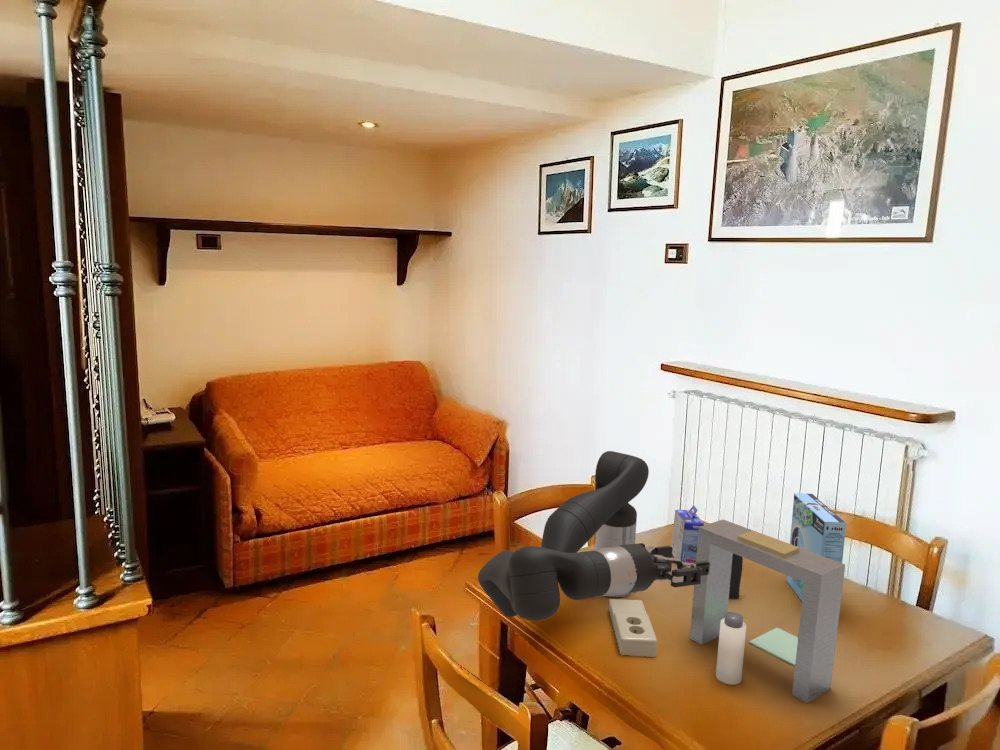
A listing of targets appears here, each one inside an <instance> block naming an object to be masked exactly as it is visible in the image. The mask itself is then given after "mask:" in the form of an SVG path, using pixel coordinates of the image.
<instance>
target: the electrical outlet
mask: <svg viewBox="0 0 1000 750" xmlns="http://www.w3.org/2000/svg"><path fill="white" fill-rule="evenodd" d="M608 607H609V608H608V613H609V612H610V613H609V616H611V617H610V620H611V624H612V628H613V632H614V631H615V632H614V636H615V635H616V636H615V640H616V639H617V640H616V643H618V644H617V648H618V647H619V648H618V650H619V651H620V652H619V655H620V654H621V655H620V656H622V655H630V656H629V657H644V656H646V657H647V658H649V657H650V658H657V650H658V638H657V636H656V632H655V630H654V627H653V625H652V622H651V618H650V616H649V614H648V613H647V611H646V608H645V605H644V603H643V600H641V599H620V598H619V599H618V598H614V599H613V598H609V606H608ZM632 655H633V656H632Z"/></svg>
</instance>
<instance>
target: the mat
mask: <svg viewBox="0 0 1000 750" xmlns="http://www.w3.org/2000/svg"><path fill="white" fill-rule="evenodd" d="M748 643H749V644H751V645H752V646H754V647H756V648H758V649H760V650H762V651H763V652H765V653H767V654H769V655H771V656H773V657H775V658H777V659H779V660H780V661H783V662H785V663H787V664H789V665H790V666H793V667H795V662H796V653H797V644H798V637H797V636H796V635H793V634H792V633H790V632H787V631H786V630H784V629H781V628H779V627H775V628H773V629H771V630H770V631H767V632H765V633H763V634H761V635H759V636H757V637H755V638H753V639H751V640H749V642H748Z"/></svg>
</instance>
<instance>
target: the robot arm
mask: <svg viewBox="0 0 1000 750" xmlns="http://www.w3.org/2000/svg"><path fill="white" fill-rule="evenodd" d="M649 473H650V470H649V466H648V464H647V463H646V461H645V460H644V459H642V458H640V457H637V456H634V455H632V454H626V453H622V452H618V451H613V450H607V451H605V452H603V453H602V454H601V455H600V457H599V458H598V460H597V463H596V467H595V477H594V483H595V484H594V485H595V486H594V489H593V490H589V491H586V492H584V493H580V494H577V495H575V496H572V497H570V498H568V499H567V500H565V501H564V502H563V503H562V504H561V505H560V506H558V507H557V509H555V510H554V511H553V512H552V513H551V514H550V515H549V516H548V518H547V519H546V522H545V524H544V529H543V532H542V533H543V534H542V539H541V546H537V545H527V546H523V547H518V549H516V550H515V551H513V550H511V549H506V550H503V551H500V552H498V553H497V554H495V555H494V556H493V557H491V558H490V559H489V560H488V561H487V562H486V563H485V564H484V565H483V566H482V567H481V569H480V570H479V572H478V576H477V581H478V583H479V585H480V587H481V588H482V590H483V592H484V593H486V594H485V595H487V596H488V598H489V599H490V600H491V601H492V602H493V604H494V605H495V607H496V608H497V609H498V610H499V611H500V612H501V613H502V614H503V615H504V617H507V618H514V617H516V616H519V617H520V618H522V619H524V620H527V621H532V622H534V621H535V622H538V621H545V620H547V619H550V618H551V617H553V616H554V615H555V614H556V613H557V612H558V610H559V608H560V605H561V594H560V590H561V591H562V592H563V594H564V595H565V596H566V597H567V598H569V599H571V600H574V601H580V600H586V599H587V600H588V599H591V598H593V599H594V598H598V597H610V598H623V597H627V596H629V595H630V594H632V593H637V592H643V591H646V590H648V589H649V588H650V586H652V584H653V583H654V582H655V581H656V582H662V581H669V582H670V587H673V588H681V587H682V588H683V587H688V586H694V585H697V584H701V576H704V575H708V574H709V569H710V563H709V562H707V561H700V562H694V563H686V562H681V560H680V559H676V558H674V557H673V554H672V547H671V546H670V545H664V546H663V545H662V546H653V545H648V546H646V544H645V543H643V542H639V543H636V534H637V519H638V518H637V517H638V512H637V510H636V508H635V507H634V506H633V505H631V504H630V502H631V501H632V500H634V499H635V498H636V497H637V496H638V495H639V494H640V493H641V492H642V490H643V489H644V487H645V485H646V483H647V481H648V479H649ZM594 535H595V544H594V546H593V550H588V551H581V552H580V550H581V549H582V548H583V547H584V546H585V545H586V544H587V543H588V541H590V540H591V539H592V538H593V537H594ZM673 564H674V565H675V569H672V567H673Z"/></svg>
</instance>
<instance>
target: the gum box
mask: <svg viewBox="0 0 1000 750" xmlns="http://www.w3.org/2000/svg"><path fill="white" fill-rule="evenodd" d="M792 505H793V506H792V515H791V528H790V538H789V544H791V545H794V546H797V547H799V548H802V549H805V550H808V551H810V552H813V553H816V554H818V555H821V556H824V557H826V558H829V559H832V560H835V561H837V562H840V563H843V559H844V558H843V557H844V551H845V550H844V549H845V539H846V538H845V537H846V529H847V522H846V521H844V519H842V518H841V517H839V515H837V514H836V513H835V512H834V511H833V510H831V509H830V508H829V507H828V506H827V505H825V503H823V501H821V500H820V499H819V498H818V497H817V496H815V495H814V494H813V493H805V492H803V493H802V492H799V493H798V492H796V493H795V492H794V493H793V504H792ZM786 582H787V583H788V585H789V586H790V588H791V589H792V590H793V591H794V593H795V594H796V596H797V597H798V598H799V600H800V601H801V602H802V597H803V588H804V582H802V581H800V580H797V579H795V578H793V577H790V576H788V575H786Z"/></svg>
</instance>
